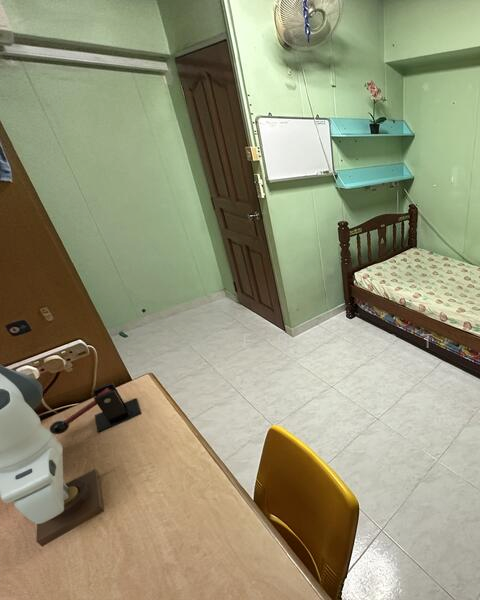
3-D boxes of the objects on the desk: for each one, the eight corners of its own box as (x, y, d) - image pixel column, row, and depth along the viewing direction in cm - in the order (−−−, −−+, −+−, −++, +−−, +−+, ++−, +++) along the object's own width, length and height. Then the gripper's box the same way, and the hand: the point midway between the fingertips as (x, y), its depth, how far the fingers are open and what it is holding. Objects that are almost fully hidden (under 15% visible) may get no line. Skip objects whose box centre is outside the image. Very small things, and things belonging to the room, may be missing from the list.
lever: (58, 439, 84) (45, 433, 82) (58, 431, 86) (45, 425, 84) (117, 397, 90) (106, 391, 88) (115, 391, 93) (105, 384, 90)
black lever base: (99, 434, 89) (80, 407, 83) (96, 417, 93) (79, 391, 88) (142, 415, 95) (127, 389, 89) (137, 400, 100) (123, 374, 94)
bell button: (54, 516, 68) (49, 510, 67) (54, 500, 71) (49, 495, 70) (81, 501, 71) (77, 496, 70) (80, 487, 73) (76, 482, 72)
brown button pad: (42, 546, 65) (31, 537, 63) (43, 502, 72) (33, 493, 70) (104, 511, 71) (96, 501, 69) (99, 474, 79) (91, 464, 77)
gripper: (10, 434, 67) (44, 472, 74) (-1, 506, 55) (42, 545, 61) (50, 417, 71) (80, 455, 78) (50, 482, 59) (85, 521, 65)
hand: (63, 495), depth 70 cm, fingers closed, pressing on bell button
